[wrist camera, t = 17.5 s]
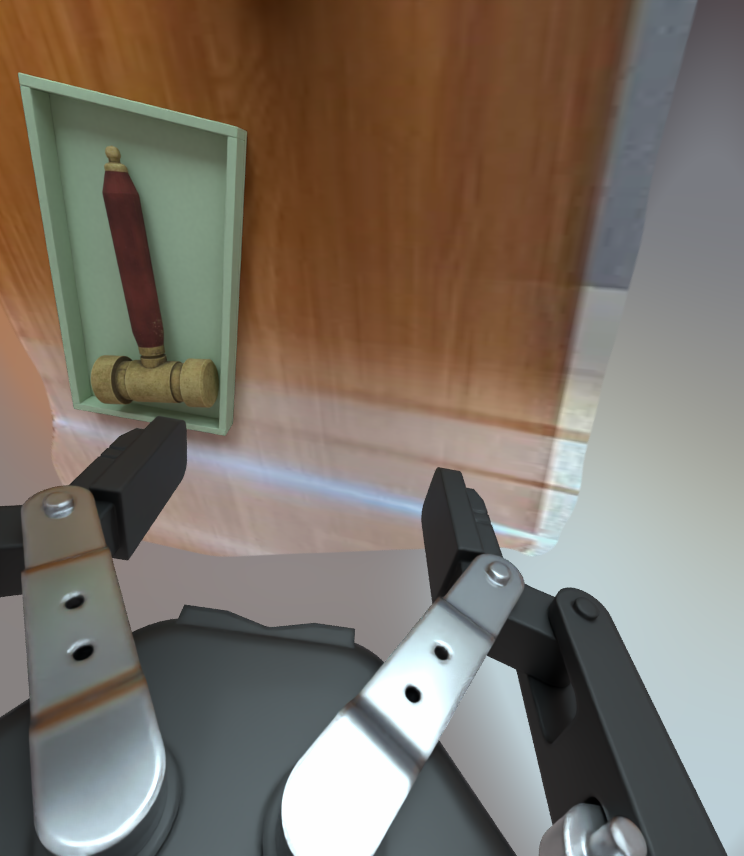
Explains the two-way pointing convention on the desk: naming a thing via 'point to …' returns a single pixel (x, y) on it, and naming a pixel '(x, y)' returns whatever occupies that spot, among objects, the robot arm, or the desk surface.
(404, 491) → the desk surface
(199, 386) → the gavel
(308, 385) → the desk surface
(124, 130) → the tray
